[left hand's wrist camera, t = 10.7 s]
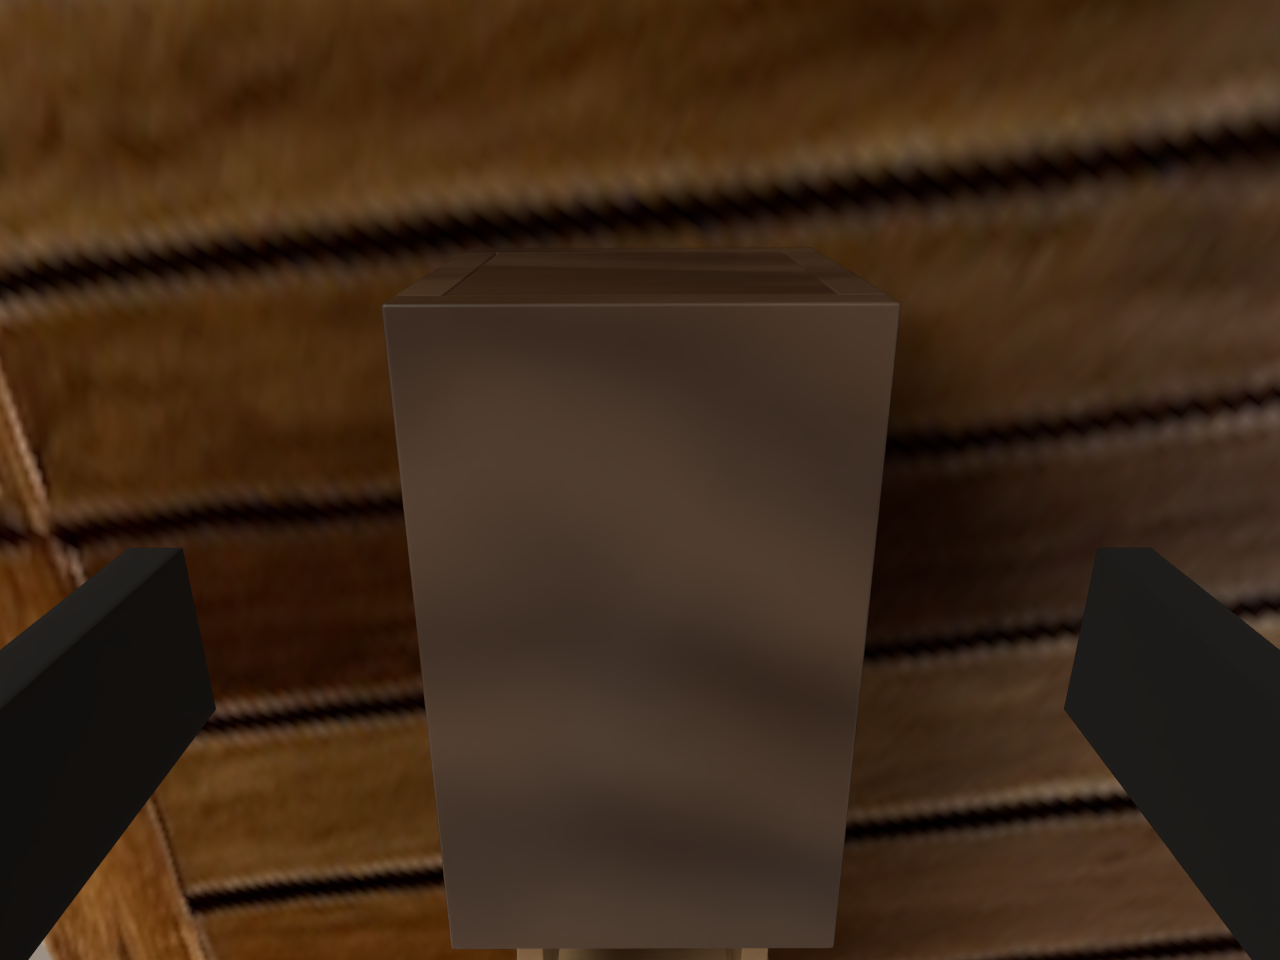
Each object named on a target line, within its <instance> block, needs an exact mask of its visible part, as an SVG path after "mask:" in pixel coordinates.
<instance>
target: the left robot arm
mask: <svg viewBox="0 0 1280 960" xmlns="http://www.w3.org/2000/svg"><path fill="white" fill-rule="evenodd" d="M215 710H216V707H215V702H214V697H213V692H212V688H211V683H210V678H209V673H208V668H207V664H206V659H205V654H204V649H203V645H202V640H201V635H200V630H199V625H198V621H197V616H196V611H195V606H194V601H193V597H192V592H191V587H190V582H189V577H188V573H187V568H186V563H185V558H184V553H183V549H182V548H128V549H127V550H126V551H124V552H123V553H122V554H121V555H119V556H118V557H117V558H116V559H114V560H113V561H112V562H111V563H109V564H108V565H107V566H105V567H104V568H103V569H102V570H100V571H99V572H98V573H97V574H95V575H94V576H93V577H92V578H90V579H89V580H88V581H87V582H85V583H84V584H83V585H82V586H80V587H79V588H78V589H76V590H75V591H74V592H73V593H71V594H70V595H69V596H68V597H66V598H65V599H64V600H63V601H61V602H60V603H59V604H58V605H56V606H55V607H54V608H53V609H51V610H50V611H49V612H47V613H46V614H45V615H44V616H42V617H41V618H40V619H39V620H37V621H36V622H35V623H34V624H32V625H31V626H30V627H29V628H27V629H26V630H25V631H24V632H22V633H21V634H20V635H18V636H17V637H16V638H15V639H13V640H12V641H11V642H10V643H8V644H7V645H6V646H5V647H3V648H2V649H1V650H0V960H29V958H30V957H31V956H32V954H33V953H34V952H35V950H36V949H37V947H38V946H39V945H40V944H41V942H42V941H43V940H44V938H45V937H46V936H47V934H48V933H49V931H50V930H51V929H52V927H53V926H54V925H55V923H56V922H57V921H58V919H59V918H60V917H61V915H62V914H63V913H64V911H65V910H66V909H67V907H68V906H69V905H70V903H71V902H72V901H73V899H74V898H75V897H76V895H77V894H78V893H79V891H80V890H81V889H82V887H83V886H84V885H85V883H86V882H87V881H88V879H89V878H90V877H91V875H92V874H93V873H94V871H95V870H96V869H97V867H98V866H99V865H100V863H101V862H102V861H103V859H104V858H105V857H106V855H107V854H108V853H109V851H110V850H111V849H112V847H113V846H114V845H115V843H116V842H117V841H118V839H119V838H120V837H121V835H122V834H123V833H124V831H125V830H126V829H127V827H128V826H129V825H130V823H131V822H132V821H133V819H134V818H135V817H136V815H137V814H138V813H139V811H140V810H141V809H142V807H143V806H144V805H145V803H146V802H147V801H148V799H149V798H150V797H151V795H152V794H153V793H154V791H155V790H156V789H157V787H158V786H159V785H160V783H161V782H162V781H163V779H164V778H165V777H166V775H167V774H168V773H169V771H170V770H171V768H172V767H173V766H174V764H175V763H176V762H177V760H178V759H179V758H180V756H181V755H182V754H183V752H184V751H185V750H186V748H187V747H188V746H189V744H190V743H191V742H192V740H193V739H194V738H195V736H196V735H197V734H198V732H199V731H200V730H201V728H202V727H203V726H204V724H205V723H206V722H207V720H208V719H209V718H210V716H211V715H212V714H213V712H214V711H215ZM1064 710H1065V711H1066V712H1067V714H1068V715H1069V716H1070V718H1071V719H1072V720H1073V722H1074V723H1075V724H1076V726H1077V727H1078V728H1079V730H1080V731H1081V732H1082V734H1083V735H1084V736H1085V738H1086V739H1087V740H1088V742H1089V743H1090V744H1091V746H1092V747H1093V748H1094V750H1095V751H1096V752H1097V754H1098V755H1099V756H1100V758H1101V759H1102V760H1103V762H1104V763H1105V764H1106V766H1107V767H1108V768H1109V770H1110V771H1111V773H1112V774H1113V775H1114V777H1115V778H1116V779H1117V781H1118V782H1119V783H1120V785H1121V786H1122V787H1123V789H1124V790H1125V791H1126V793H1127V794H1128V795H1129V797H1130V798H1131V799H1132V801H1133V802H1134V803H1135V805H1136V806H1137V807H1138V809H1139V810H1140V811H1141V813H1142V814H1143V815H1144V817H1145V818H1146V819H1147V821H1148V822H1149V823H1150V825H1151V826H1152V827H1153V829H1154V830H1155V831H1156V833H1157V834H1158V835H1159V837H1160V838H1161V839H1162V841H1163V842H1164V843H1165V845H1166V846H1167V847H1168V849H1169V850H1170V851H1171V853H1172V854H1173V855H1174V857H1175V858H1176V859H1177V861H1178V862H1179V863H1180V865H1181V866H1182V867H1183V869H1184V870H1185V871H1186V873H1187V874H1188V875H1189V877H1190V878H1191V879H1192V881H1193V882H1194V883H1195V885H1196V886H1197V887H1198V889H1199V890H1200V891H1201V893H1202V894H1203V895H1204V897H1205V898H1206V899H1207V901H1208V902H1209V903H1210V905H1211V906H1212V907H1213V909H1214V910H1215V911H1216V913H1217V914H1218V915H1219V917H1220V918H1221V919H1222V921H1223V922H1224V923H1225V925H1226V926H1227V927H1228V929H1229V930H1230V931H1231V933H1232V934H1233V936H1234V937H1235V938H1236V940H1237V941H1238V942H1239V944H1240V945H1241V946H1242V948H1243V949H1244V950H1245V952H1246V953H1247V954H1248V956H1249V957H1250V958H1251V960H1280V650H1279V649H1278V648H1277V647H1275V646H1274V645H1273V644H1272V643H1270V642H1269V641H1268V640H1267V639H1265V638H1264V637H1263V636H1262V635H1260V634H1259V633H1258V632H1256V631H1255V630H1254V629H1253V628H1251V627H1250V626H1249V625H1248V624H1246V623H1245V622H1244V621H1243V620H1241V619H1240V618H1239V617H1238V616H1236V615H1235V614H1234V613H1233V612H1231V611H1230V610H1229V609H1227V608H1226V607H1225V606H1224V605H1222V604H1221V603H1220V602H1219V601H1217V600H1216V599H1215V598H1214V597H1212V596H1211V595H1210V594H1209V593H1207V592H1206V591H1205V590H1204V589H1202V588H1201V587H1200V586H1198V585H1197V584H1196V583H1195V582H1193V581H1192V580H1191V579H1190V578H1188V577H1187V576H1186V575H1185V574H1183V573H1182V572H1181V571H1180V570H1178V569H1177V568H1176V567H1175V566H1173V565H1172V564H1171V563H1169V562H1168V561H1167V560H1166V559H1164V558H1163V557H1162V556H1161V555H1159V554H1158V553H1157V552H1156V551H1154V550H1153V549H1152V548H1098V549H1097V553H1096V558H1095V563H1094V568H1093V573H1092V577H1091V582H1090V587H1089V592H1088V597H1087V601H1086V606H1085V611H1084V616H1083V621H1082V625H1081V630H1080V635H1079V640H1078V645H1077V649H1076V654H1075V659H1074V664H1073V668H1072V673H1071V678H1070V683H1069V688H1068V692H1067V697H1066V702H1065V707H1064Z"/></svg>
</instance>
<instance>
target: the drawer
mask: <svg viewBox="0 0 1280 960" xmlns="http://www.w3.org/2000/svg"><path fill="white" fill-rule="evenodd" d="M517 960H768V948H633V949H517Z"/></svg>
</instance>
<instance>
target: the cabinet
mask: <svg viewBox="0 0 1280 960" xmlns="http://www.w3.org/2000/svg"><path fill="white" fill-rule="evenodd" d="M899 314H900V303H899V302H898V301H896V300H894V299H893V298H891V297H890V296H888V295H887V294H886V293H885V292H883V291H881V290H880V289H878V288H877V287H875V286H873V285H872V284H870V283H868V282H867V281H865V280H864V279H862V278H860V277H859V276H857V275H856V274H854V273H852V272H851V271H849V270H847V269H846V268H844V267H843V266H841V265H839V264H838V263H836V262H835V261H833V260H831V259H830V258H828V257H826V256H825V255H823V254H822V253H820V252H818V251H816V250H815V249H813V248H519V249H469V250H467V251H465V252H464V253H462V254H460V255H459V256H457V257H456V258H454V259H452V260H451V261H449V262H448V263H446V264H444V265H443V266H441V267H440V268H438V269H436V270H435V271H433V272H432V273H430V274H428V275H427V276H425V277H424V278H422V279H421V280H419V281H417V282H416V283H414V284H413V285H411V286H409V287H408V288H406V289H405V290H403V291H401V292H400V293H398V294H397V295H395V297H393V298H391V299H390V300H388V301H387V302H385V303H383V304H382V315H383V324H384V333H385V343H386V352H387V361H388V370H389V379H390V388H391V398H392V407H393V416H394V425H395V434H396V443H397V452H398V462H399V471H400V480H401V489H402V498H403V507H404V517H405V526H406V535H407V544H408V553H409V562H410V571H411V581H412V590H413V599H414V608H415V617H416V626H417V636H418V645H419V654H420V663H421V672H422V681H423V690H424V700H425V709H426V718H427V727H428V736H429V745H430V755H431V764H432V773H433V782H434V791H435V800H436V809H437V819H438V828H439V837H440V846H441V855H442V864H443V873H444V883H445V892H446V901H447V910H448V919H449V928H450V938H451V946H452V948H453V949H633V948H832V947H833V945H834V937H835V928H836V918H837V908H838V899H839V889H840V880H841V870H842V861H843V851H844V841H845V832H846V822H847V813H848V803H849V794H850V784H851V774H852V765H853V755H854V746H855V736H856V726H857V717H858V707H859V698H860V688H861V679H862V669H863V659H864V650H865V640H866V631H867V621H868V611H869V602H870V592H871V583H872V573H873V564H874V554H875V544H876V535H877V525H878V516H879V506H880V497H881V487H882V477H883V468H884V458H885V449H886V439H887V429H888V420H889V410H890V401H891V391H892V382H893V372H894V362H895V353H896V343H897V334H898V324H899Z"/></svg>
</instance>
